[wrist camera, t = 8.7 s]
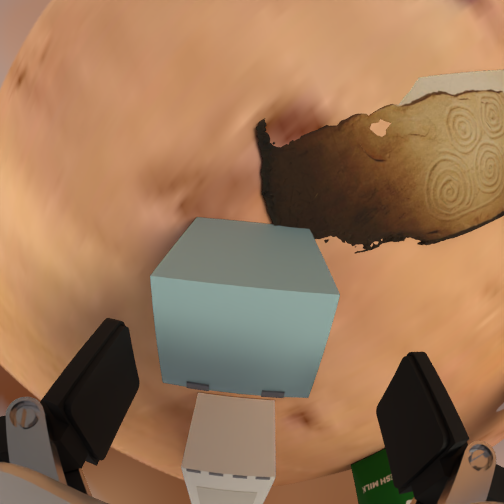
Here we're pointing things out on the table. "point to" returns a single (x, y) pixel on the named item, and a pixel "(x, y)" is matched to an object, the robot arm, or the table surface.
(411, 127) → the parchment
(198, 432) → the block
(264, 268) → the stub
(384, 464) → the milk carton
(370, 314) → the table surface
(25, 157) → the table surface
